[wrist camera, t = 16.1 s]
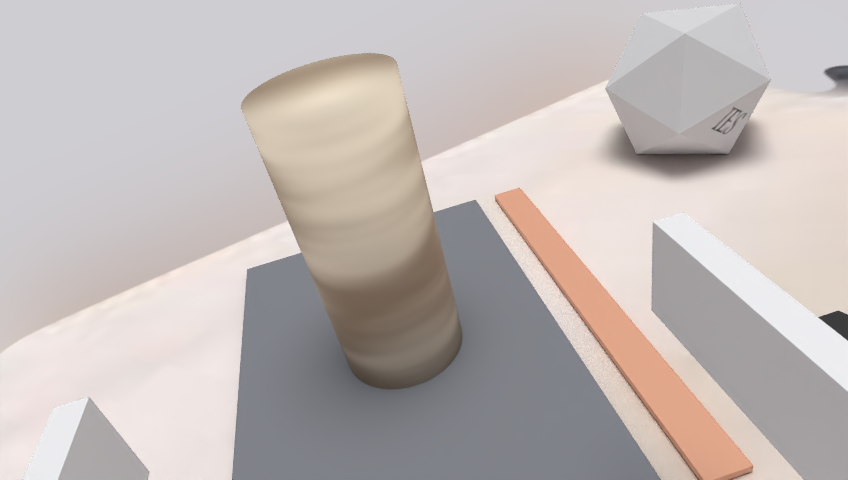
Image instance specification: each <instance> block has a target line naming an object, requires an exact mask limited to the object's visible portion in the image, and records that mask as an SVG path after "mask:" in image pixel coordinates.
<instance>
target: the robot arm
mask: <svg viewBox="0 0 848 480" xmlns="http://www.w3.org/2000/svg"><path fill="white" fill-rule="evenodd" d="M652 311H653V312H654V313H655V314H656V316H657V317H658V318H659V319H660V320H661V321H662V322H663V323H664V324H665V326H666V327H667V328H668V329H669V330H670V331H671V332H672V333H673V334H674V336H675V337H676V338H677V339H678V340H679V341H680V342H681V343H682V345H683V346H684V347H685V348H686V349H687V350H688V351H689V352H690V353H691V355H692V356H693V357H694V358H695V359H696V360H697V361H698V362H699V363H700V365H701V366H702V367H703V368H704V369H705V370H706V371H707V372H708V373H709V375H710V376H711V377H712V378H713V379H714V380H715V381H716V382H717V383H718V385H719V386H720V387H721V388H722V389H723V390H724V391H725V392H726V394H727V395H728V396H729V397H730V398H731V399H732V400H733V401H734V402H735V404H736V405H737V406H738V407H739V408H740V409H741V410H742V411H743V412H744V414H745V415H746V416H747V417H748V418H749V419H750V420H751V421H752V422H753V424H754V425H755V426H756V427H757V428H758V429H759V430H760V431H761V432H762V434H763V435H764V436H765V437H766V438H767V439H768V440H769V441H770V443H771V444H772V445H773V446H774V447H775V448H776V449H777V450H778V451H779V453H780V454H781V455H782V456H783V457H784V458H785V459H786V460H787V461H788V463H789V464H790V465H791V466H792V467H793V468H794V469H795V470H796V471H797V473H798V474H799V475H800V476H801V477H802V478H803V479H804V480H848V315H847V314H845V313H843V312H840V311H836V312H833V313H830V314H827V315H824V316H821V317H817V316H816V315H814V314H813V313H812V312H810V311H809V310H808V309H807V308H805V307H804V306H803V305H802V304H800V303H799V302H798V301H796V300H795V299H794V298H793V297H791V296H790V295H789V294H787V293H786V292H785V291H784V290H782V289H781V288H780V287H779V286H777V285H776V284H775V283H773V282H772V281H771V280H770V279H768V278H767V277H766V276H764V275H763V274H762V273H761V272H759V271H758V270H757V269H756V268H754V267H753V266H752V265H750V264H749V263H748V262H747V261H745V260H744V259H743V258H742V257H740V256H739V255H738V254H736V253H735V252H734V251H733V250H731V249H730V248H729V247H727V246H726V245H725V244H724V243H722V242H721V241H720V240H719V239H717V238H716V237H715V236H713V235H712V234H711V233H710V232H708V231H707V230H706V229H705V228H703V227H702V226H701V225H699V224H698V223H697V222H696V221H694V220H693V219H692V218H690V217H689V216H688V215H687V214H685V213H684V212H682V213H679V214H675V215H672V216H669V217H666V218H662V219H659V220H656V221H653V247H652ZM148 476H149V471H148V469H147V468H146V467H145V466H144V464H143V463H142V462H141V461H140V459H139V458H138V457H137V456H136V454H135V453H134V452H133V451H132V449H131V448H130V447H129V446H128V444H127V443H126V442H125V441H124V439H123V438H122V437H121V436H120V435H119V433H118V432H117V431H116V430H115V428H114V427H113V426H112V425H111V423H110V422H109V421H108V420H107V418H106V417H105V416H104V415H103V413H102V412H101V411H100V410H99V408H98V407H97V406H96V405H95V403H94V402H93V401H92V400H91V398H90V397H87V398H83V399H80V400H77V401H74V402H70V403H67V404H64V405H61V406H58V407H54V408H53V410H52V413H51V415H50V417H49V420H48V422H47V424H46V426H45V429H44V431H43V433H42V435H41V438H40V440H39V442H38V445H37V447H36V449H35V451H34V454H33V456H32V458H31V461H30V463H29V465H28V467H27V470H26V472H25V474H24V476H23V479H22V480H148Z"/></svg>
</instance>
